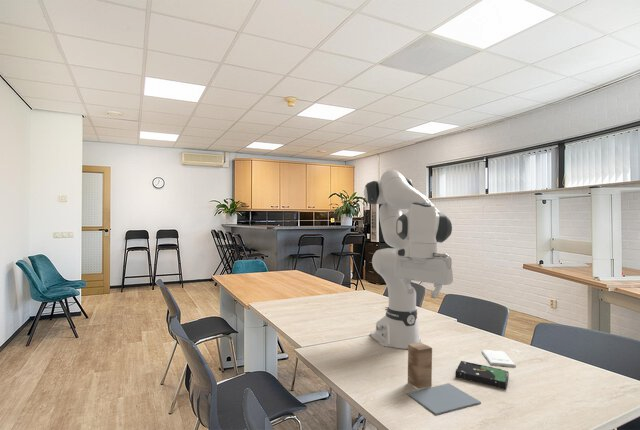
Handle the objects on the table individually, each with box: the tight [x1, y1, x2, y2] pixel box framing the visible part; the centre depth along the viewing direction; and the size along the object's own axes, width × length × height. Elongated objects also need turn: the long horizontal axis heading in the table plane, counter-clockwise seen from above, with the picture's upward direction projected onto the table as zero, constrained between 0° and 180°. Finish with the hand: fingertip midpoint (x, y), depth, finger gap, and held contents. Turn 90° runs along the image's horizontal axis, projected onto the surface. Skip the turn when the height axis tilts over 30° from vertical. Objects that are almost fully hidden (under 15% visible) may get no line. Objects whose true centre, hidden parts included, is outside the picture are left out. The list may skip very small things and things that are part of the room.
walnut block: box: [407, 342, 433, 391], centre depth 109 cm, size 5×5×12 cm
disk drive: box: [454, 360, 510, 390], centre depth 116 cm, size 10×3×15 cm
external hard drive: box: [481, 349, 517, 368], centre depth 131 cm, size 2×8×12 cm
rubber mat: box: [406, 383, 482, 416], centre depth 101 cm, size 12×16×1 cm
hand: (422, 295), depth 114 cm, fingers open, 8 cm apart
